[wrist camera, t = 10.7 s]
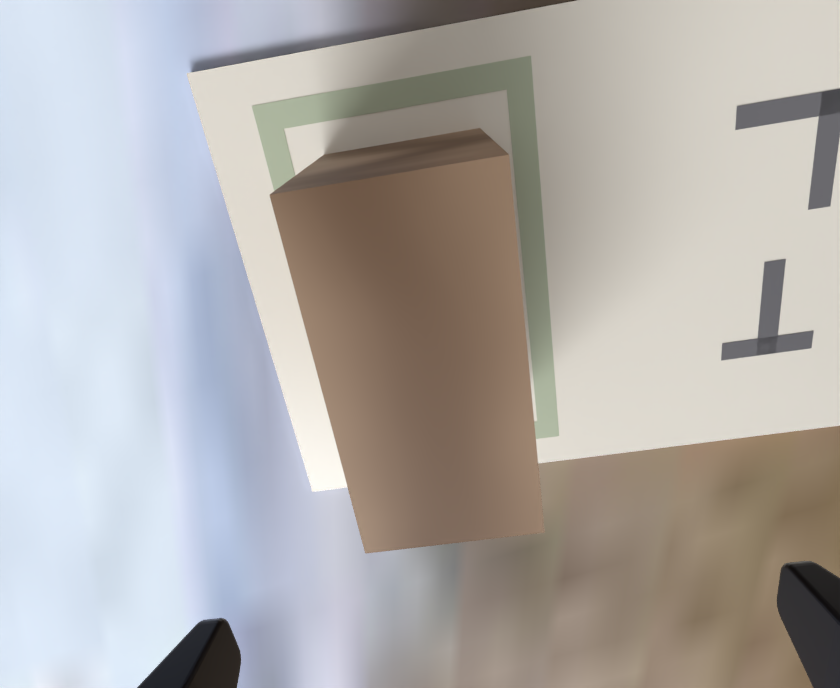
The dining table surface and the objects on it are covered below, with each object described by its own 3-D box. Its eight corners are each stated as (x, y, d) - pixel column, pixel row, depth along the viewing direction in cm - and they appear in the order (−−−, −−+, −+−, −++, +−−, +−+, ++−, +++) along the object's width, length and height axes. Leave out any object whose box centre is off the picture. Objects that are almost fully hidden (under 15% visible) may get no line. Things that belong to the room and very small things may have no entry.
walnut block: (479, 127, 18) (509, 154, 12) (510, 401, 22) (544, 532, 16) (323, 154, 18) (269, 194, 12) (382, 419, 22) (365, 553, 16)
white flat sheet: (1024, -83, 16) (1035, -86, 16) (912, 411, 22) (918, 415, 22) (190, 73, 18) (186, 73, 17) (314, 487, 24) (312, 491, 24)
